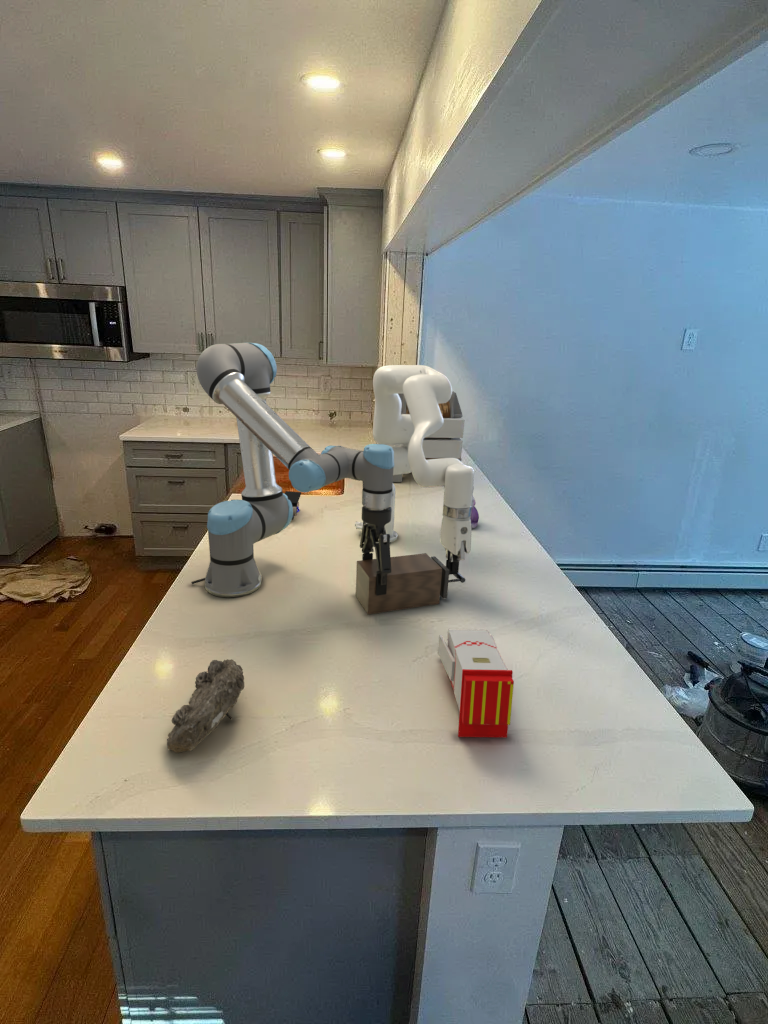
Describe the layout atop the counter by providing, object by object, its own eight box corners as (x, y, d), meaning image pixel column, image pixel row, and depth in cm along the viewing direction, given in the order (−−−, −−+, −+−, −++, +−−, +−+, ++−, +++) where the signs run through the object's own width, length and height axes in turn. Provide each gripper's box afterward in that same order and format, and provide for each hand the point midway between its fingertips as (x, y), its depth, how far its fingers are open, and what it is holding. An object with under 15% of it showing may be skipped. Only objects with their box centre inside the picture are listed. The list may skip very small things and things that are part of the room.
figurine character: (297, 525, 206) (302, 507, 220) (296, 507, 203) (301, 489, 216) (278, 525, 206) (284, 507, 220) (278, 506, 203) (284, 489, 216)
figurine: (464, 531, 204) (468, 492, 199) (448, 522, 212) (452, 484, 207) (485, 528, 208) (490, 489, 203) (469, 519, 217) (473, 481, 212)
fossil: (192, 660, 117) (244, 628, 112) (224, 691, 120) (276, 661, 115) (142, 746, 98) (202, 712, 93) (182, 779, 101) (242, 748, 96)
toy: (488, 613, 130) (523, 677, 101) (484, 667, 133) (517, 744, 104) (435, 612, 130) (455, 676, 101) (432, 666, 133) (451, 743, 103)
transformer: (382, 463, 289) (386, 382, 275) (445, 464, 293) (451, 384, 279) (390, 482, 257) (394, 392, 243) (460, 483, 261) (468, 394, 247)
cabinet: (423, 586, 163) (426, 553, 159) (439, 603, 154) (442, 568, 150) (355, 595, 156) (356, 560, 152) (367, 614, 147) (369, 577, 143)
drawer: (451, 580, 165) (453, 553, 162) (466, 595, 157) (469, 567, 154) (369, 591, 156) (370, 563, 153) (381, 607, 148) (382, 578, 145)
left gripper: (408, 520, 134) (403, 603, 142) (375, 491, 154) (372, 565, 162) (378, 523, 132) (374, 607, 139) (349, 493, 152) (347, 568, 159)
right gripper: (483, 518, 146) (476, 582, 152) (456, 501, 160) (451, 561, 166) (457, 521, 144) (451, 586, 150) (432, 503, 157) (428, 564, 163)
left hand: (373, 584), depth 150 cm, fingers closed on cabinet, 10 cm apart
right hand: (451, 573), depth 158 cm, fingers closed
